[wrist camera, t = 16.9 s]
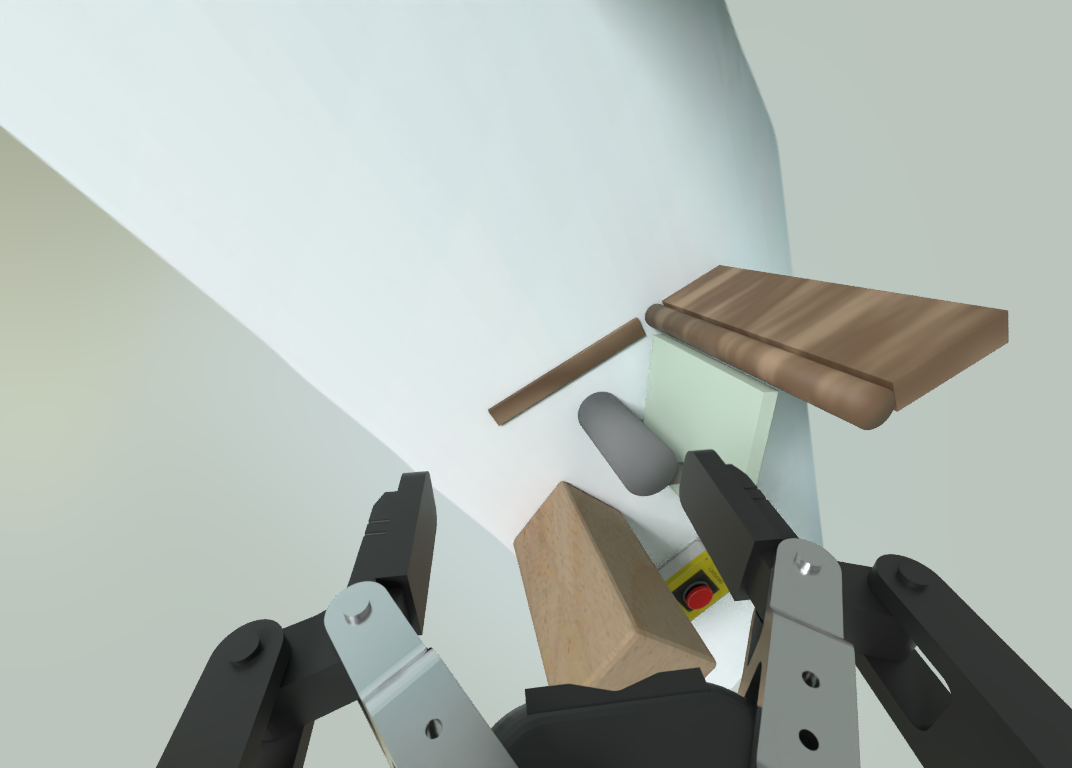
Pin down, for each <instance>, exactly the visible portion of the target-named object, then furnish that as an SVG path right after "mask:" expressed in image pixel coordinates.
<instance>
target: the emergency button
mask: <svg viewBox="0 0 1072 768" xmlns="http://www.w3.org/2000/svg"><path fill="white" fill-rule="evenodd" d="M657 570H658V572H659V573H660V575H661V576H662V578H663V579H664V581H665V583H666V584H667V586H668V587H669V589H670V590H671V592H672V594H673V595H674V597H675V598H676V600H677V601H678V603H679V604H680V606H681V608H682V609H683V611H684V612H685V614H686V615H687V617H688V619H689V620H690V622H691V621H692V620H693V619H694V618H696V617H697V616H698V615H700V614H701V613H702V612H704V611H705V610H706V609H707V608H709V607H710V606H711V605H713V604H714V603H715V602H716V601H718V600H719V599H720V598H722V597H723V596H724V595H726V594H727V593H728V592H729V590H728V588H727V586H726V585H725V583H724V581H723V579H722V577H721V576H720V574H719V572H718V570H717V568H716V567H715V565H714V563H713V561H712V559H711V558H710V556H709V554H708V552H707V550H706V549H705V547H704V545H703V543H702V541H701V540H700V538H699V537H698V538H697V539H696V540H694V541H693V542H692V543H690V544H689V545H688V546H687V547H685V548H684V549H683V550H682V551H680V552H679V553H678V554H676V555H675V556H674V557H673V558H671V559H670V560H669V561H668V562H666V563H665V564H664V565H662V566H661V567H660V568H659V569H657Z"/></svg>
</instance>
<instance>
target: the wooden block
mask: <svg viewBox="0 0 1072 768" xmlns="http://www.w3.org/2000/svg"><path fill="white" fill-rule="evenodd" d="M514 548H515V552H516V556H517V560H518V564H519V568H520V572H521V576H522V580H523V584H524V588H525V592H526V597H527V600H528V604H529V609H530V613H531V616H532V620H533V625H534V629H535V633H536V637H537V641H538V645H539V649H540V653H541V657H542V661H543V665H544V669H545V673H546V677H547V681H548V685H549V686H553V685H561V684H575V685H581V686H587V687H593V688H599V689H605V690H611V691H618V690H622V689H624V688H626V687H628V686H630V685H632V684H634V683H636V682H639V681H641V680H643V679H645V678H647V677H649V676H651V675H654V674H656V673H658V672H665V671H673V670H681V669H689V668H697V667H700V669H701V671H702V673H703V676H704V678H705V677H706V676H707V675H708V674H709V673H710V672H711V671H712V670H713V669H714V668H715V666H716V661H715V659H714V658H713V656H712V654H711V653H710V651H709V650H708V648H707V647H706V645H705V643H704V642H703V640H702V639H701V637H700V636H699V634H698V633H697V631H696V629H695V628H694V626H693V625H692V623H691V622H690V620H689V619H688V617H687V615H686V614H685V612H684V611H683V609H682V608H681V606H680V604H679V603H678V601H677V600H676V598H675V597H674V595H673V594H672V592H671V590H670V589H669V587H668V586H667V584H666V583H665V581H664V579H663V578H662V576H661V575H660V573H659V572H658V570H657V569H656V567H655V565H654V564H653V562H652V561H651V559H650V558H649V556H648V554H647V553H646V551H645V550H644V548H643V547H642V545H641V544H640V542H639V540H638V539H637V537H636V536H635V534H634V533H633V531H632V530H631V528H630V526H629V525H628V523H627V522H626V520H625V519H624V517H623V515H622V514H621V512H619V511H617V510H616V509H614V508H612V507H610V506H608V505H606V504H604V503H603V502H601V501H599V500H597V499H595V498H593V497H591V496H590V495H588V494H586V493H584V492H582V491H580V490H578V489H576V488H575V487H573V486H571V485H569V484H567V483H565V482H560V483H559V484H558V485H557V487H556V488H555V489H554V490H553V492H552V493H551V494H550V496H549V497H548V498H547V499H546V501H545V502H544V503H543V504H542V506H541V507H540V508H539V509H538V511H537V512H536V513H535V515H534V516H533V517H532V518H531V520H530V521H529V522H528V523H527V525H526V526H525V527H524V529H523V530H522V531H521V532H520V534H519V535H518V536H517V537H516V539H515V540H514Z"/></svg>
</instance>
